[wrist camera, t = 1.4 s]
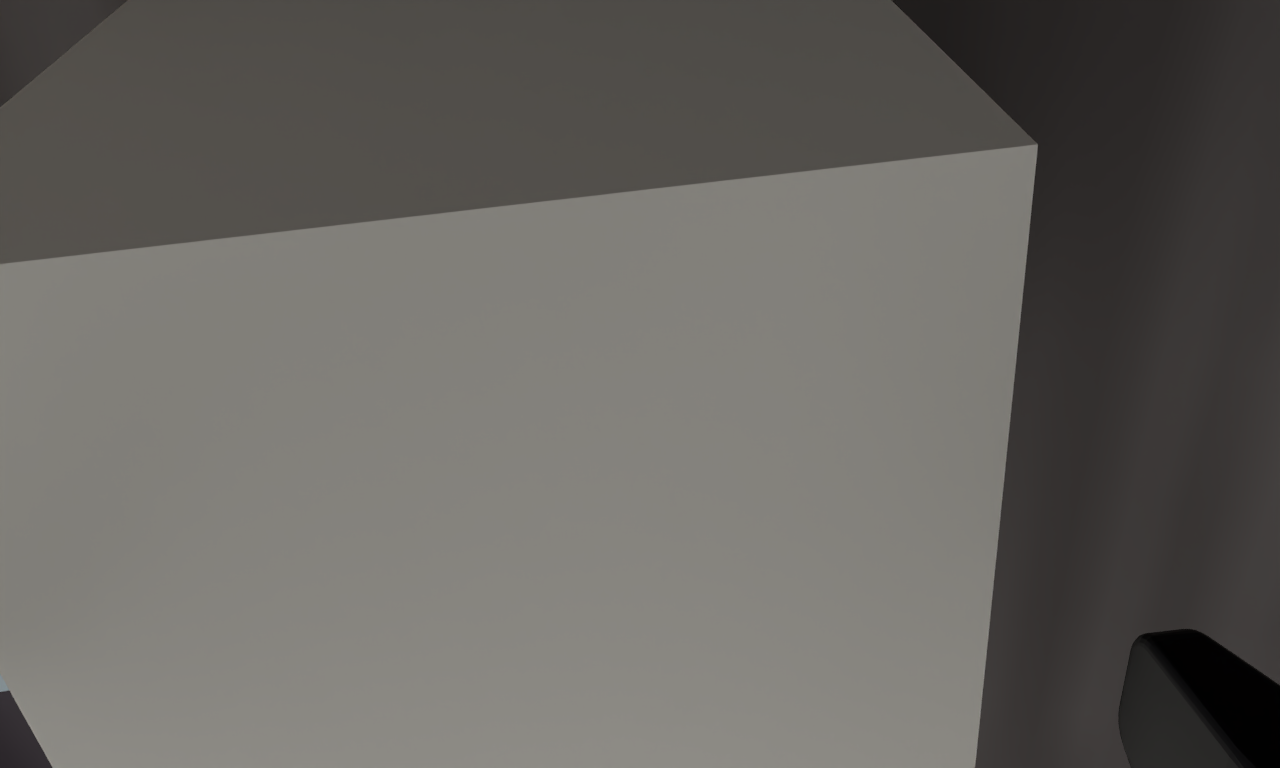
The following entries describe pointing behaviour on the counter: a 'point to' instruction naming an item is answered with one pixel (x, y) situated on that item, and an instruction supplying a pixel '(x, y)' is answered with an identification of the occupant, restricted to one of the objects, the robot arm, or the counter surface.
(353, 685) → the matte gray cube
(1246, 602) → the counter surface
